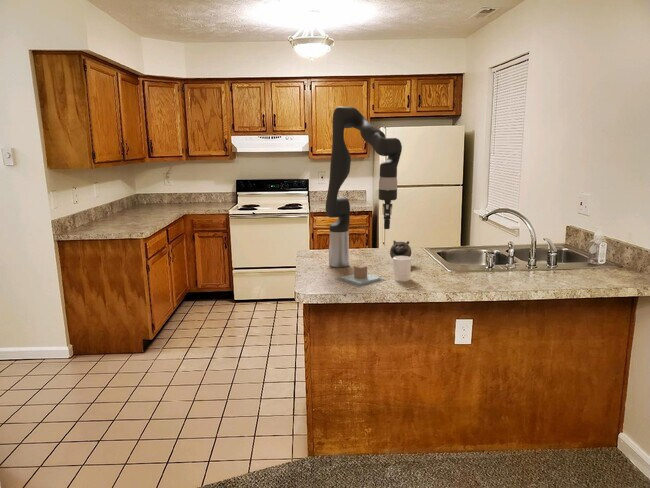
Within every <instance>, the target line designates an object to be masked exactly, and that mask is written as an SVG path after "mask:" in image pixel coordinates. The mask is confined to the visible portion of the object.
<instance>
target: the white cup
mask: <svg viewBox="0 0 650 488" xmlns="http://www.w3.org/2000/svg"><path fill="white" fill-rule="evenodd" d="M411 268H412V257H411V256H410V257H408V256H395V257H393V259H392V269H393V270H392V271H393V280H394V281H396V282H409V281H410V279H411V272H412V271H411V270H412V269H411Z"/></svg>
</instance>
